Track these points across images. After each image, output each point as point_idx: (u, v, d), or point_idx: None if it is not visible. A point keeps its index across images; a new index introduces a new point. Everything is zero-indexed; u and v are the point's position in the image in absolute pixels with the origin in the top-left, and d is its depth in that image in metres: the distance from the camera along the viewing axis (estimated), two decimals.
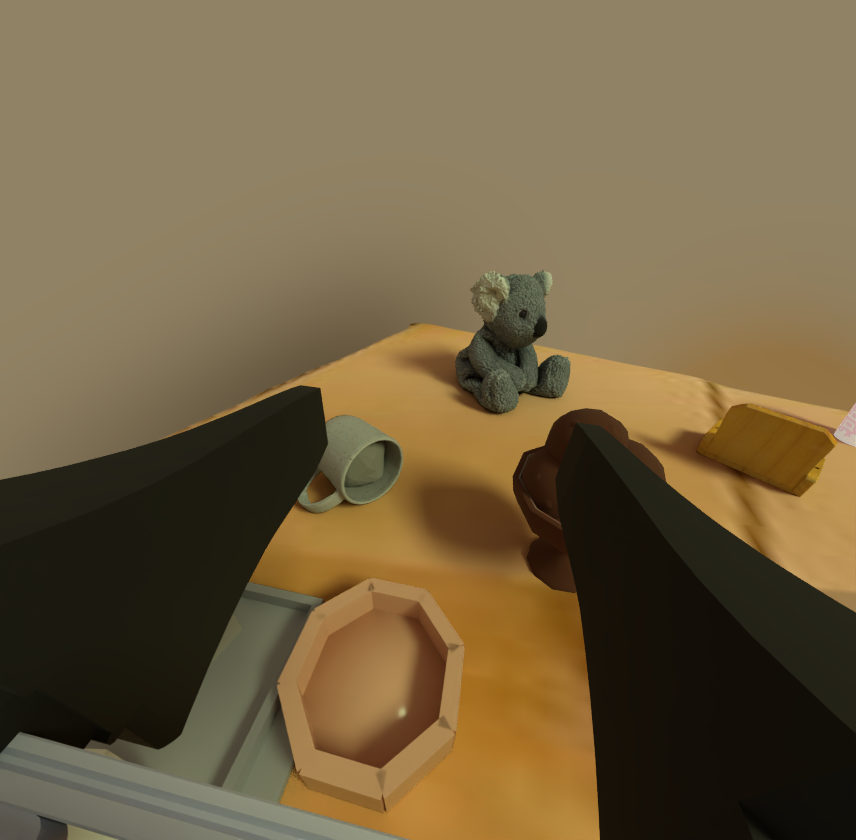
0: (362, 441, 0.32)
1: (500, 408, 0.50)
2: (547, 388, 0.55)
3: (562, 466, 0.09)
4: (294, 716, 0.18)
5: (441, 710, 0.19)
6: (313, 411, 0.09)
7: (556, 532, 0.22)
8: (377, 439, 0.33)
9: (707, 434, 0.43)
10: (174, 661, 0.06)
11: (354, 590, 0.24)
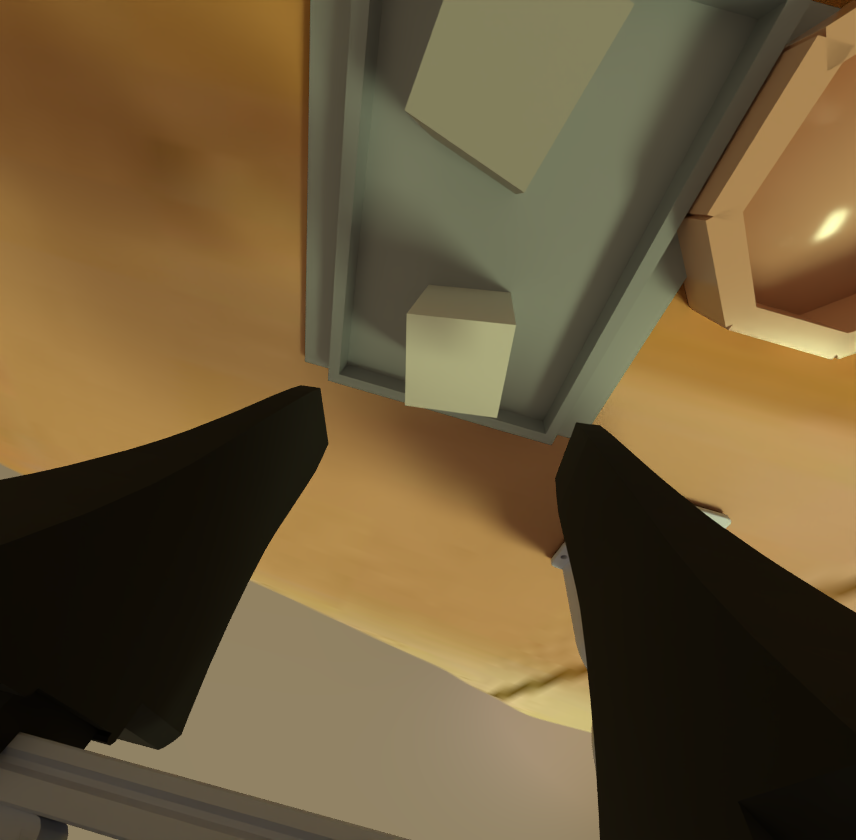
0: None
1: None
2: None
3: (562, 466, 0.09)
4: (731, 266, 0.12)
5: None
6: (313, 411, 0.09)
7: None
8: None
9: None
10: (174, 661, 0.06)
11: None
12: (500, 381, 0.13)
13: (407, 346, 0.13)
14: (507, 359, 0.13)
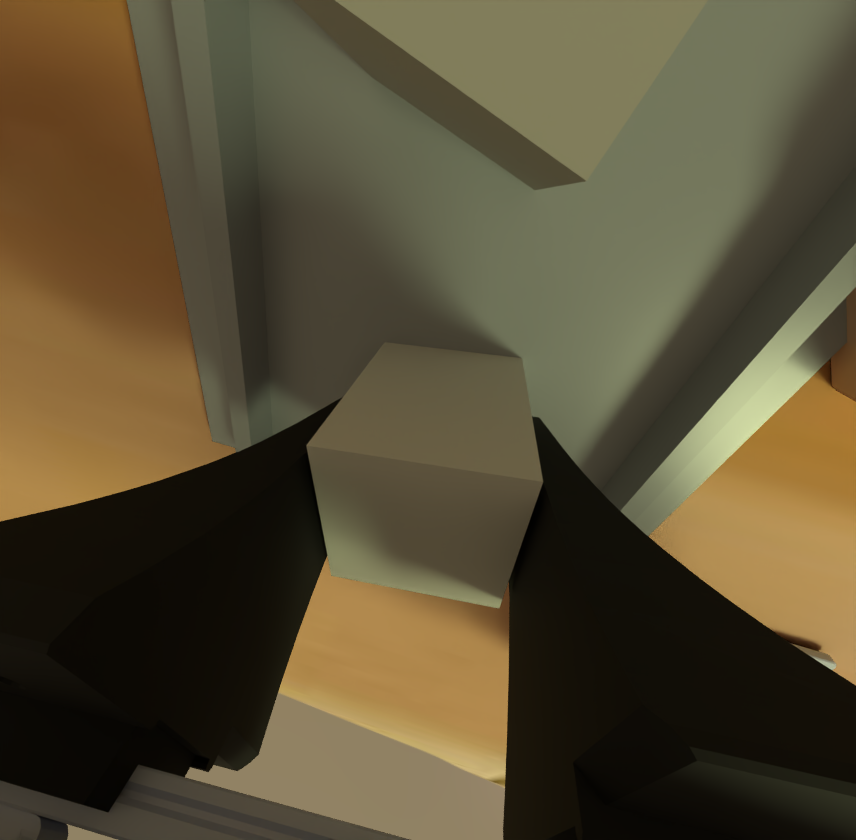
0: None
1: None
2: None
3: None
4: None
5: None
6: None
7: None
8: None
9: None
10: (257, 681, 0.06)
11: None
12: (506, 563, 0.07)
13: (319, 497, 0.06)
14: (521, 533, 0.06)
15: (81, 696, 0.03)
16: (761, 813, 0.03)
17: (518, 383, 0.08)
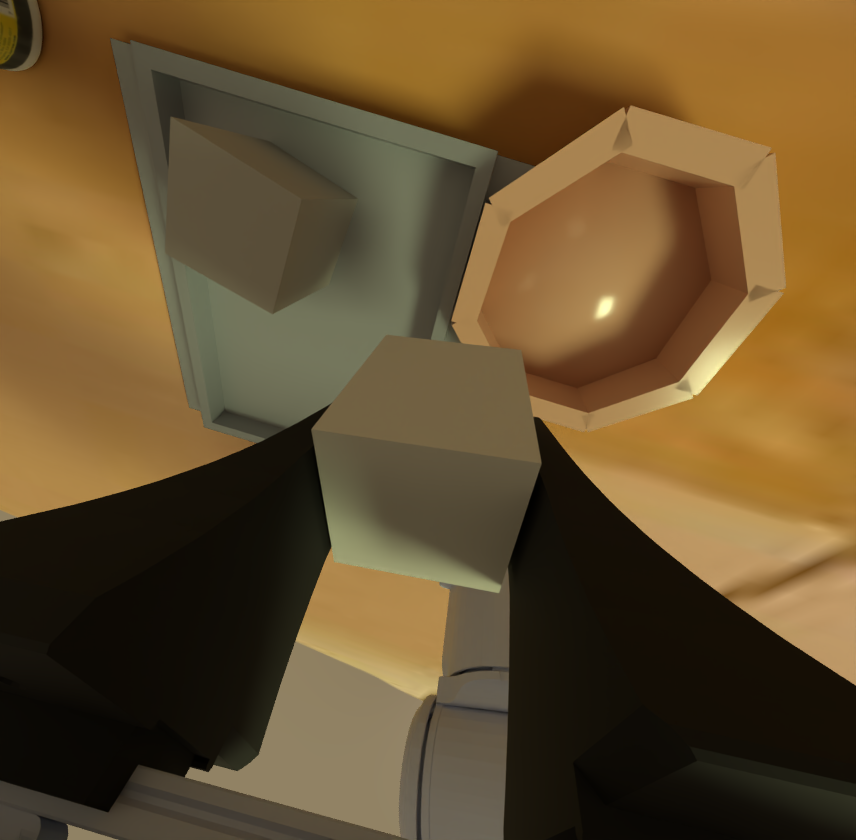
0: None
1: None
2: None
3: None
4: None
5: (687, 374, 0.13)
6: None
7: None
8: None
9: None
10: (257, 681, 0.06)
11: (580, 150, 0.10)
12: (506, 546, 0.07)
13: (322, 482, 0.07)
14: (520, 516, 0.06)
15: (81, 696, 0.03)
16: (761, 813, 0.03)
17: (517, 373, 0.08)
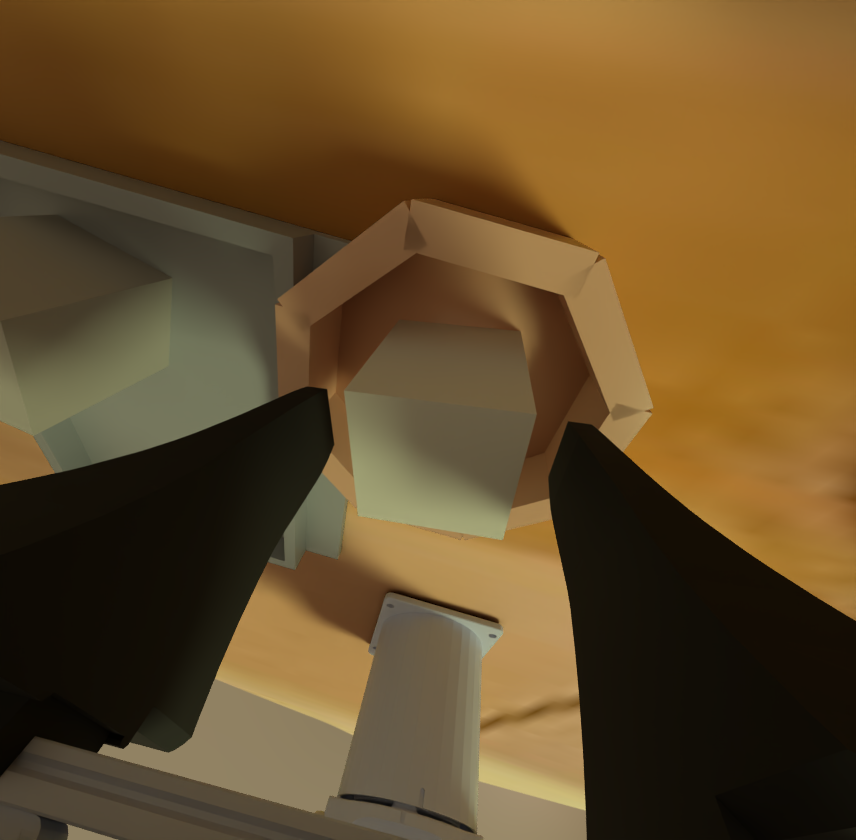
0: None
1: None
2: None
3: (555, 465, 0.09)
4: (328, 464, 0.12)
5: None
6: (320, 412, 0.09)
7: None
8: None
9: None
10: (185, 664, 0.06)
11: (366, 249, 0.08)
12: (508, 493, 0.08)
13: (351, 438, 0.08)
14: (520, 464, 0.07)
15: None
16: None
17: (517, 349, 0.09)
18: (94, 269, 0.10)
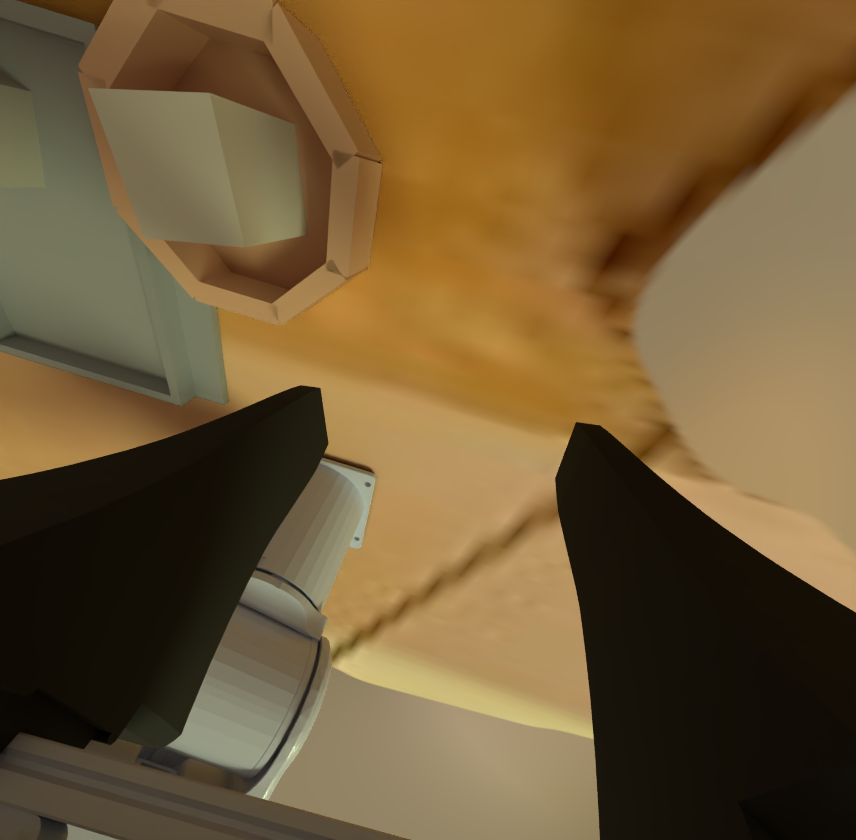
0: None
1: None
2: None
3: (562, 466, 0.09)
4: (159, 248, 0.15)
5: (328, 253, 0.14)
6: (313, 411, 0.09)
7: None
8: None
9: None
10: (174, 661, 0.06)
11: (124, 8, 0.11)
12: (227, 188, 0.11)
13: (109, 142, 0.11)
14: (221, 151, 0.10)
15: None
16: None
17: None
18: None
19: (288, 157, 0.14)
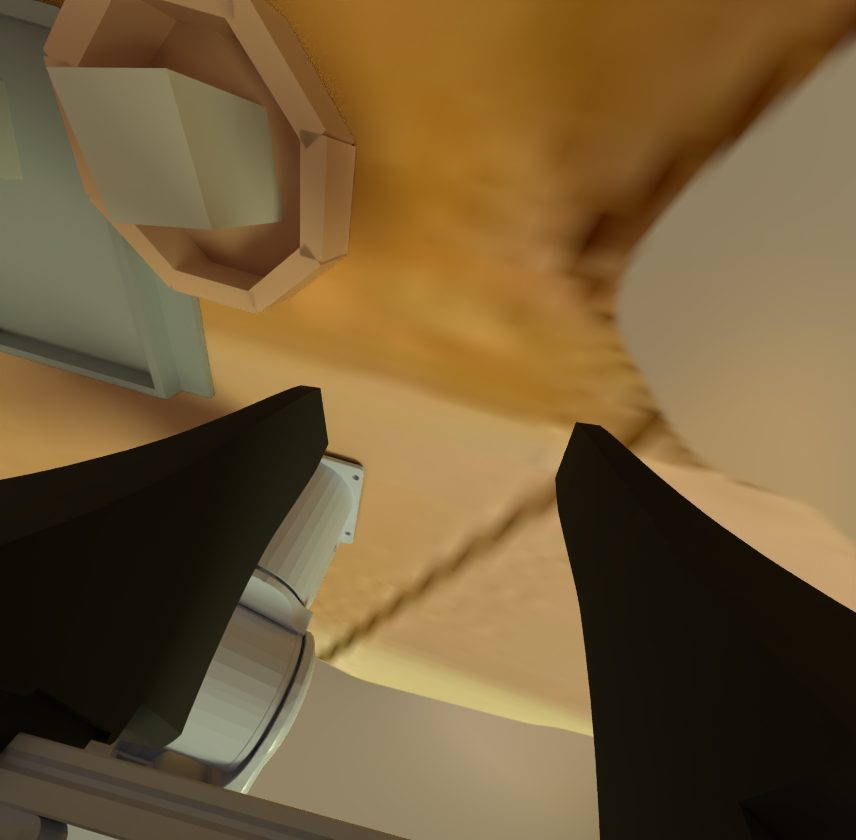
0: None
1: None
2: None
3: (562, 466, 0.09)
4: (134, 236, 0.15)
5: (301, 237, 0.14)
6: (313, 411, 0.09)
7: None
8: None
9: None
10: (174, 661, 0.06)
11: None
12: (190, 168, 0.11)
13: (71, 123, 0.11)
14: (181, 129, 0.10)
15: None
16: None
17: None
18: None
19: (260, 141, 0.13)
